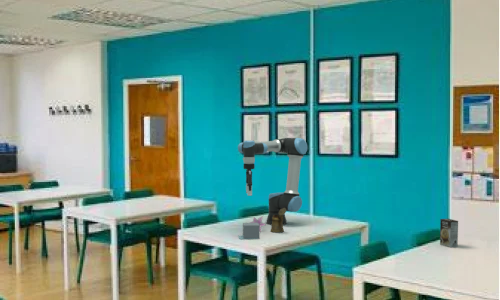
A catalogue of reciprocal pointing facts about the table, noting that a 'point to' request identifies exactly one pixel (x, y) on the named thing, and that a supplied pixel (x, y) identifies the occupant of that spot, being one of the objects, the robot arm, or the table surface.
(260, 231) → the lily
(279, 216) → the wooden mug
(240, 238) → the tape square
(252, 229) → the matte grey cube
